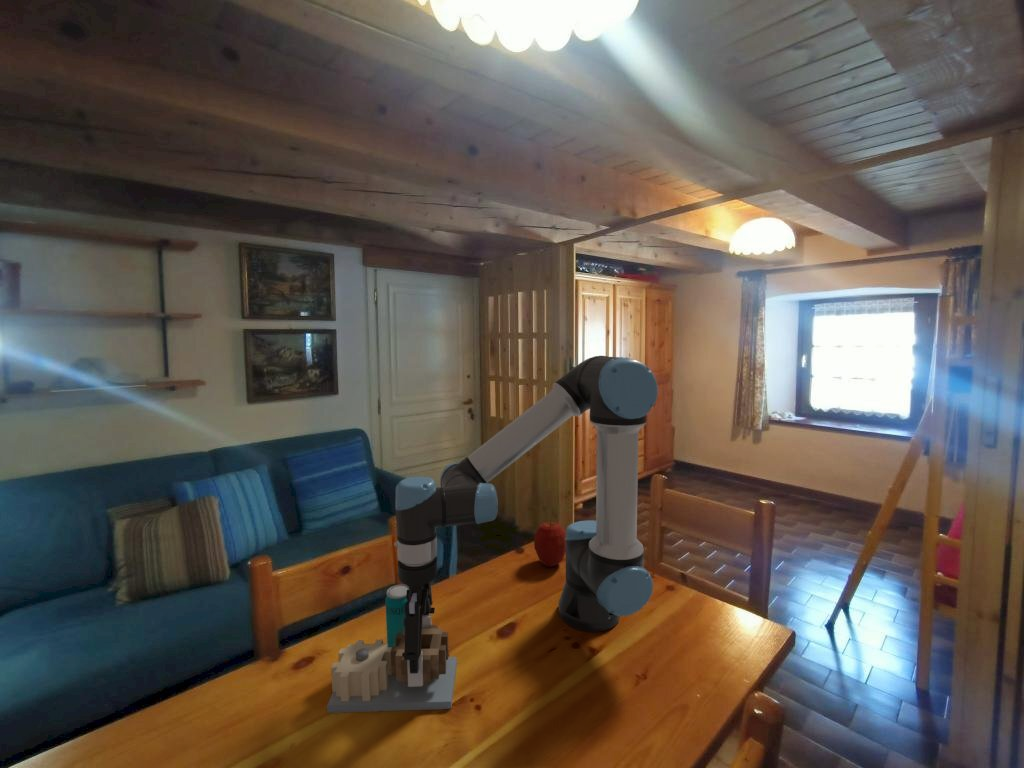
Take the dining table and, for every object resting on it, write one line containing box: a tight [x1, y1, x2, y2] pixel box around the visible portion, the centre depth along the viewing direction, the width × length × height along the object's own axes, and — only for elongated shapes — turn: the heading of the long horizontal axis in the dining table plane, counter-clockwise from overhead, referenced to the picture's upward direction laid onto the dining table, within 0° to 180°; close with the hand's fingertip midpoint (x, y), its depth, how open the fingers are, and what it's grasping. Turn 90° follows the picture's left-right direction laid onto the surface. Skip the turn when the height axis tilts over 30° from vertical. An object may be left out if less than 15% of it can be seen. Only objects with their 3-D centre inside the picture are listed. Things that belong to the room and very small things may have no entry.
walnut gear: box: [391, 624, 450, 685], centre depth 91 cm, size 10×10×5 cm
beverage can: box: [384, 583, 409, 647], centre depth 100 cm, size 6×6×15 cm
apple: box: [533, 519, 566, 568], centre depth 140 cm, size 10×10×14 cm
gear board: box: [326, 639, 458, 714], centre depth 92 cm, size 23×12×8 cm, turn 91°
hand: (420, 663), depth 92 cm, fingers closed on walnut gear, 10 cm apart
